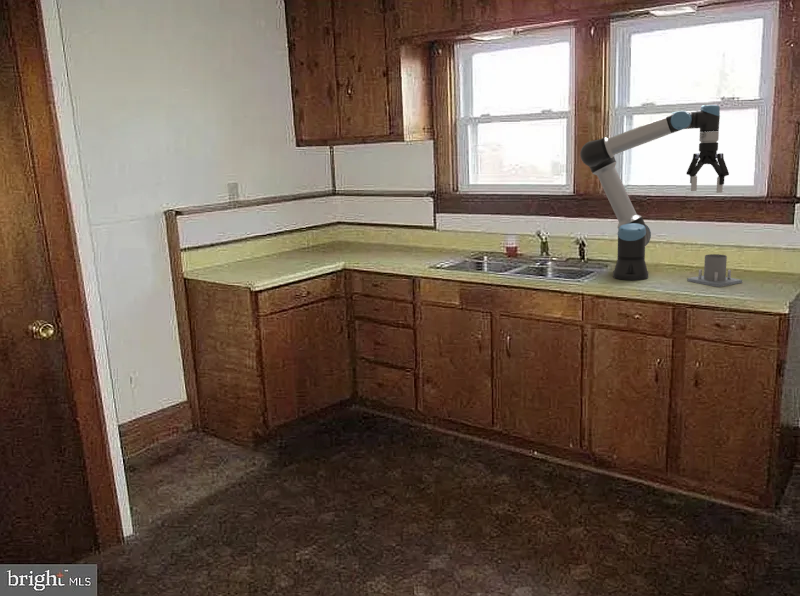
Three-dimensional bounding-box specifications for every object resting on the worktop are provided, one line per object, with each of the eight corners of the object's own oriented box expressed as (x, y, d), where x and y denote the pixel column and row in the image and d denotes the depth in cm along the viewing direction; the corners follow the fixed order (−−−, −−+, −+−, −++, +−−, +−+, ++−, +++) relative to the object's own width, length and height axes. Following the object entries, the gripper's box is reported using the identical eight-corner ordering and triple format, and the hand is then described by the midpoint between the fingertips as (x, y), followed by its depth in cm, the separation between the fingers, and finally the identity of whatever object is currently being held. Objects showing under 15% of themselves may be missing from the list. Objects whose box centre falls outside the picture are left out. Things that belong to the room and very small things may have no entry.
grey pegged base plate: (687, 281, 305) (687, 269, 304) (710, 277, 311) (710, 265, 310) (718, 287, 291) (719, 274, 290) (741, 282, 297) (742, 270, 296)
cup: (715, 281, 295) (716, 258, 293) (699, 278, 303) (700, 255, 300) (729, 279, 299) (731, 256, 297) (713, 276, 306) (714, 253, 304)
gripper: (679, 142, 314) (677, 191, 318) (727, 141, 292) (724, 193, 296) (691, 142, 317) (689, 189, 321) (739, 141, 295) (736, 192, 300)
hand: (706, 191), depth 309 cm, fingers open, 13 cm apart
